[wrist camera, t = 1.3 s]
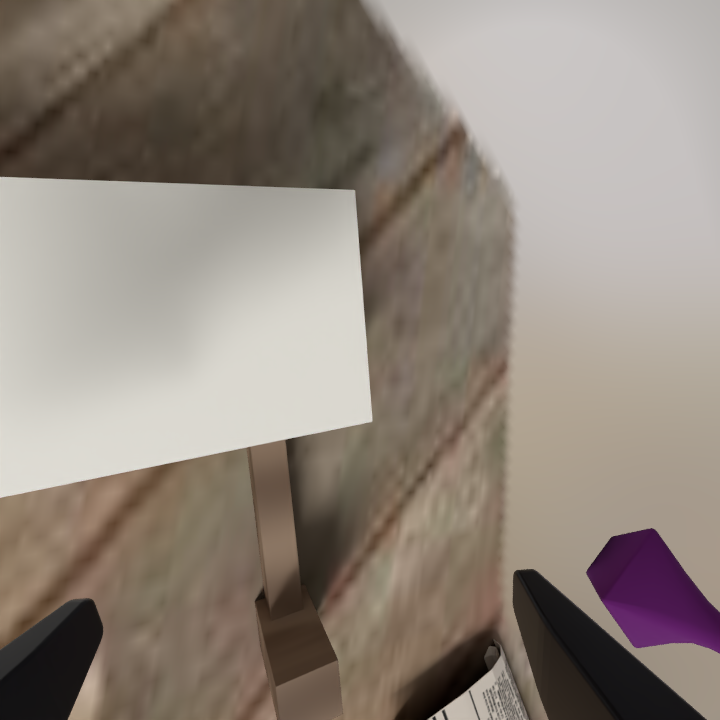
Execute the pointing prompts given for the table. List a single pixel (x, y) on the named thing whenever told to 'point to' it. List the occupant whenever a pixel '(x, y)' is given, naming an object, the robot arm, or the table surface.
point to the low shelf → (172, 323)
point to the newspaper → (488, 694)
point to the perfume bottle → (652, 593)
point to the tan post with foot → (288, 601)
